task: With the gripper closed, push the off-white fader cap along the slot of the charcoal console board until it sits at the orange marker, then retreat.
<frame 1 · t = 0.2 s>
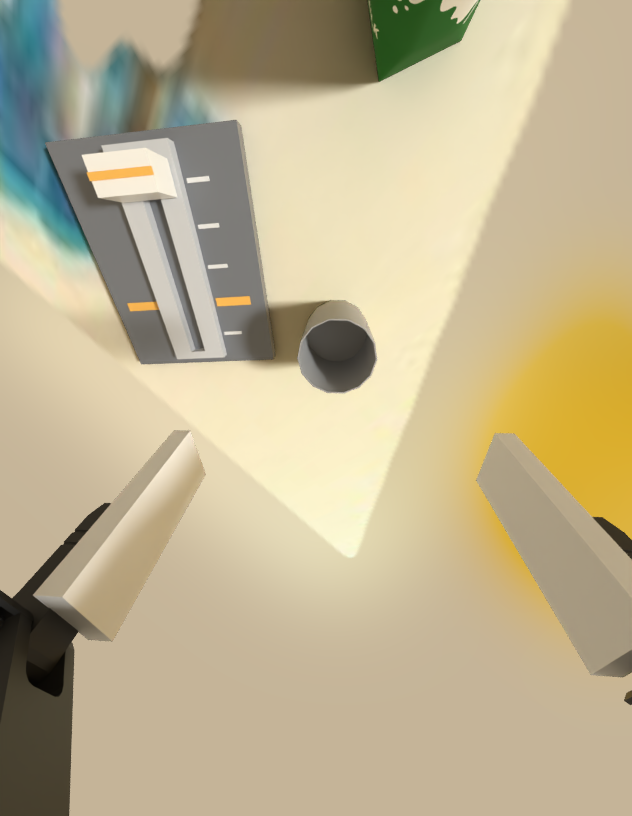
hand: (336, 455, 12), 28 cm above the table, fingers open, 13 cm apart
cup: (336, 331, 37), on the table
milk carton: (413, 3, 22), on the table
console: (184, 268, 34), on the table
fader: (137, 179, 26), point 4 cm above the table, slide at 0.0 cm
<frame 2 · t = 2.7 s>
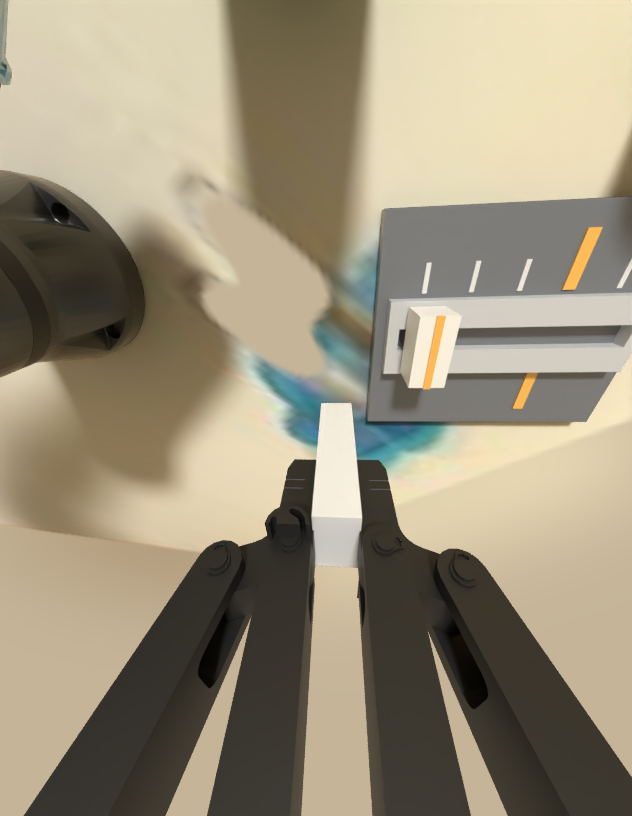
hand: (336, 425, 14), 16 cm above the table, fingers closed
console: (495, 329, 26), on the table
fader: (424, 345, 23), point 4 cm above the table, slide at 0.0 cm
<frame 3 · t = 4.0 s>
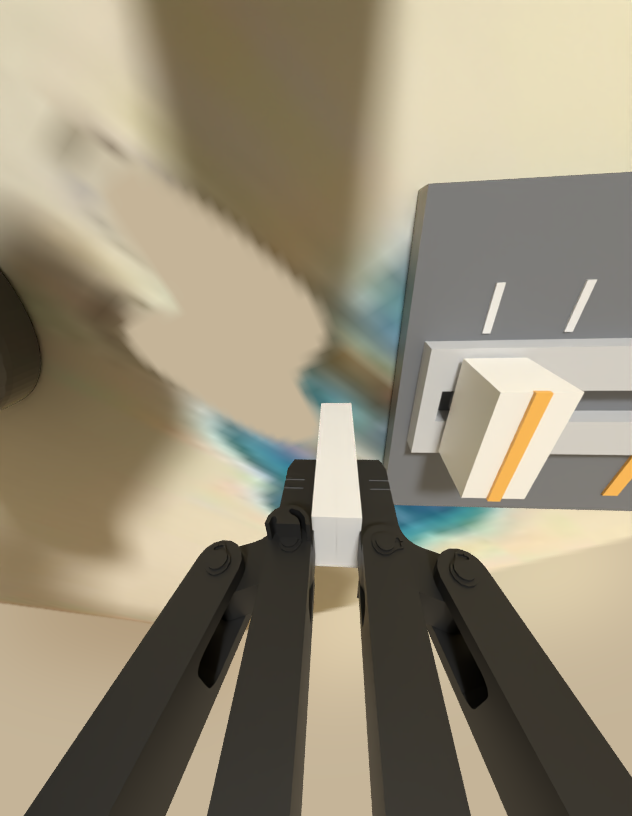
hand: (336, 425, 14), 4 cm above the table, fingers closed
console: (589, 384, 17), on the table
fader: (488, 422, 14), point 4 cm above the table, slide at 0.0 cm
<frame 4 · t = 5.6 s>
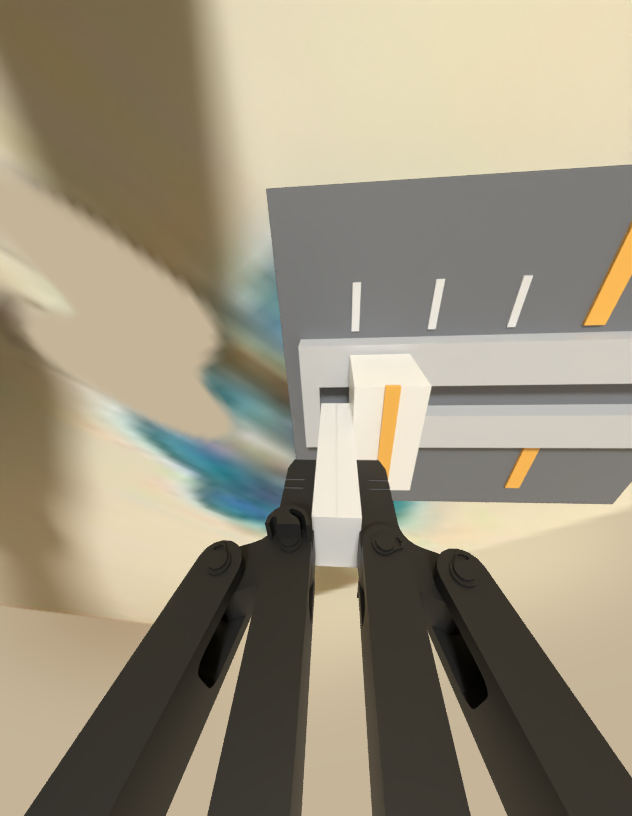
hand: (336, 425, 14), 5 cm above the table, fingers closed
console: (476, 379, 17), on the table
fader: (378, 416, 14), point 4 cm above the table, slide at 1.2 cm, touching gripper
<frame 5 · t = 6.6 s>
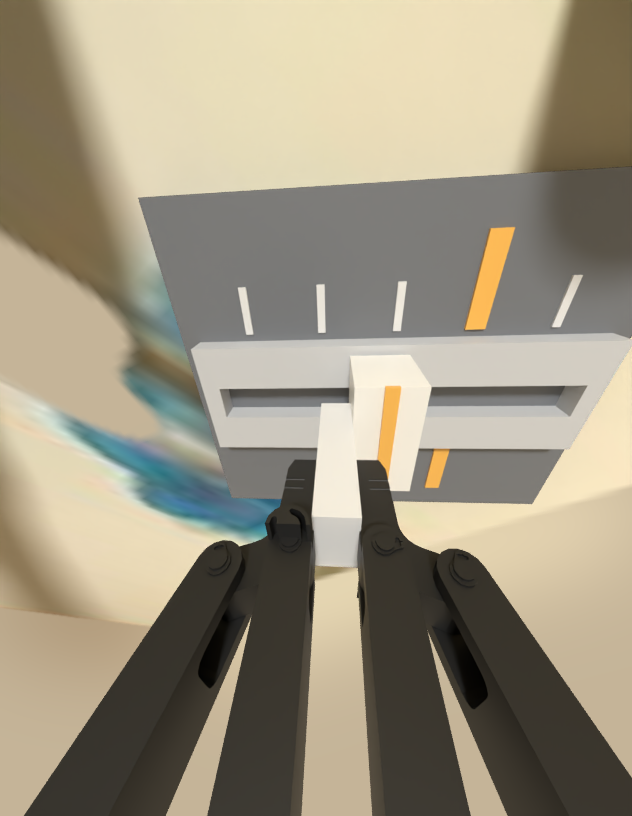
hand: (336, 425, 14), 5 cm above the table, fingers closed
console: (385, 381, 18), on the table
fader: (378, 417, 14), point 4 cm above the table, slide at 7.0 cm, touching gripper
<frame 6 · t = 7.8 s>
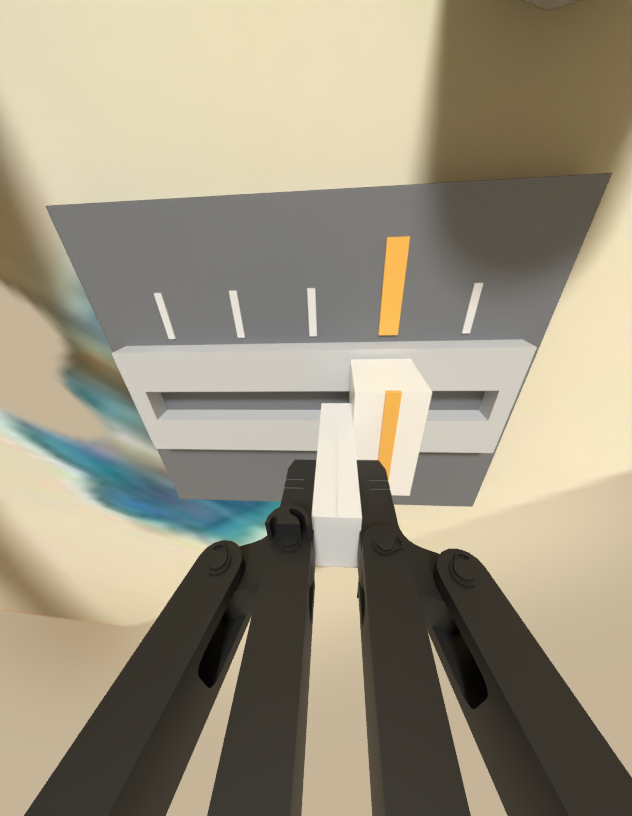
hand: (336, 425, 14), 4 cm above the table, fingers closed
console: (317, 385, 18), on the table
fader: (378, 421, 14), point 4 cm above the table, slide at 11.5 cm, touching gripper
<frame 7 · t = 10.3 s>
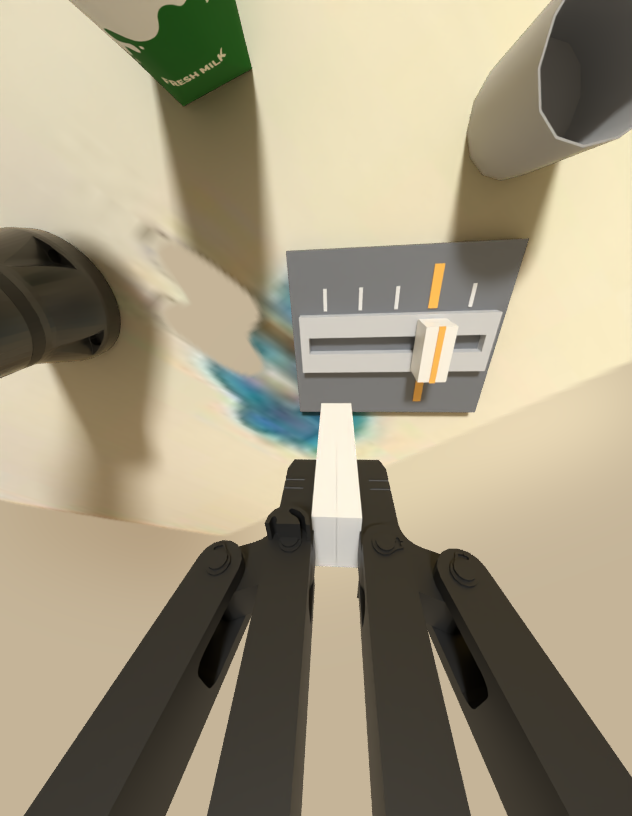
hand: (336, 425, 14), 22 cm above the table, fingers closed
cup: (518, 117, 23), on the table
milk carton: (197, 28, 22), on the table
console: (390, 338, 33), on the table
fader: (430, 348, 30), point 4 cm above the table, slide at 11.7 cm
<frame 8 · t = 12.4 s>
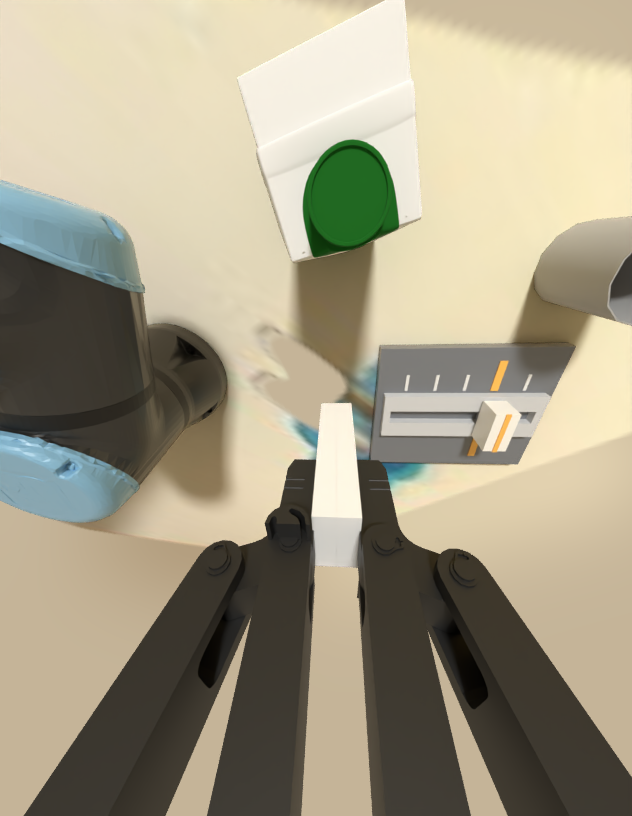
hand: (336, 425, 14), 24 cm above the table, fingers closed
cup: (574, 264, 30), on the table
milk carton: (336, 199, 29), on the table
console: (453, 407, 41), on the table
fader: (492, 423, 37), point 4 cm above the table, slide at 11.7 cm
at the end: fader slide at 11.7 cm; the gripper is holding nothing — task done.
